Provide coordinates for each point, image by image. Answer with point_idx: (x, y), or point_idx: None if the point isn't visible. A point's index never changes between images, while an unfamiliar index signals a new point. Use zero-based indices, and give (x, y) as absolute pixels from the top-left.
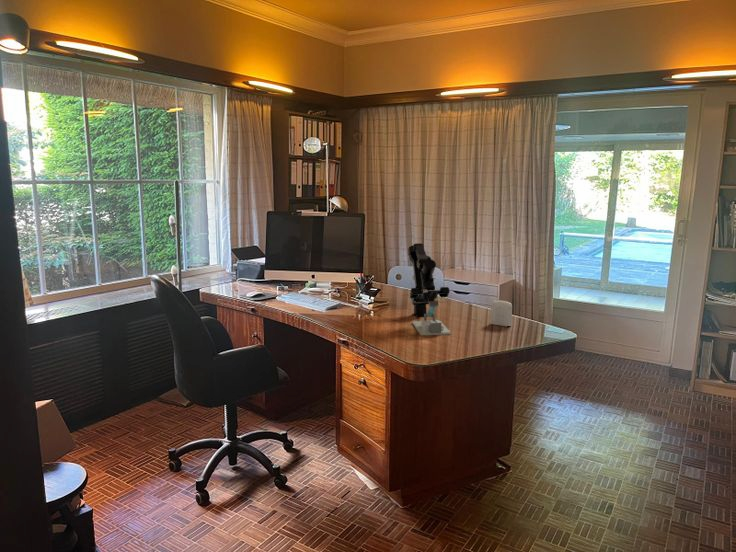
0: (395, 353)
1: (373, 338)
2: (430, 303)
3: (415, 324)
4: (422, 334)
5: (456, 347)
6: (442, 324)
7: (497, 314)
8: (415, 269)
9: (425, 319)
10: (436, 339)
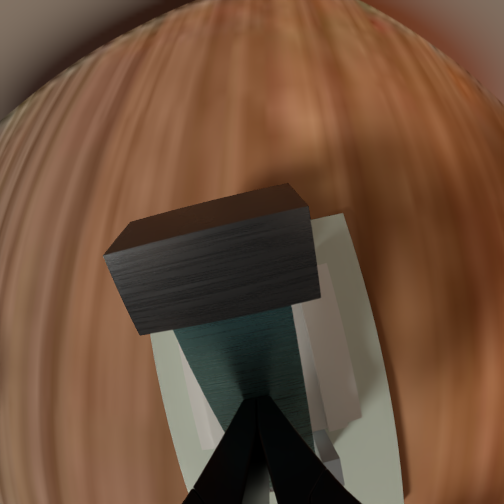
0: (383, 22)
1: None
2: (283, 191)
3: (392, 445)
4: (332, 218)
5: (162, 73)
6: (186, 461)
7: None
8: None
9: (326, 445)
10: (240, 153)
